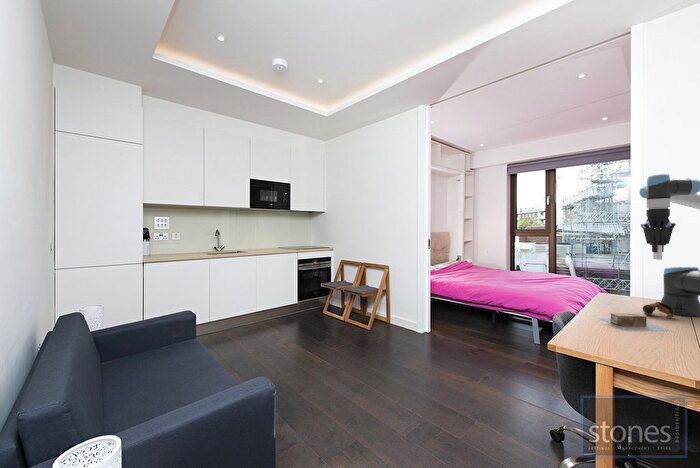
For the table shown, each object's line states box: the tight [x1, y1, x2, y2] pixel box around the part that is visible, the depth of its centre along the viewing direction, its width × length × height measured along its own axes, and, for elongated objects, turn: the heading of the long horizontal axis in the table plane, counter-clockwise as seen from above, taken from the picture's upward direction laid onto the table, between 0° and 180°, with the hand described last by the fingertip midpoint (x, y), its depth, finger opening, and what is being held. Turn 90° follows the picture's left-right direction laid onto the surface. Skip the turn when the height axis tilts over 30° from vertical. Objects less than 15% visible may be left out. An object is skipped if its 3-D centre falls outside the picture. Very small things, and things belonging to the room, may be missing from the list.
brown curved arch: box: [642, 301, 675, 320], centre depth 142 cm, size 12×10×8 cm
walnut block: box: [610, 312, 648, 327], centre depth 130 cm, size 4×4×11 cm
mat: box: [597, 317, 673, 332], centre depth 131 cm, size 18×16×1 cm
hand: (657, 259), depth 137 cm, fingers closed
